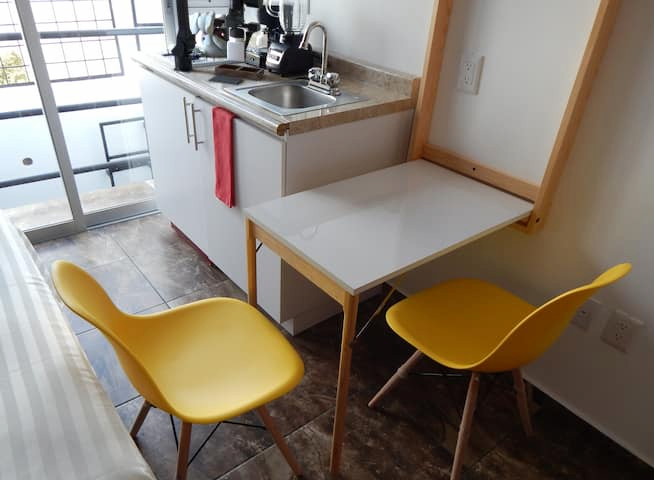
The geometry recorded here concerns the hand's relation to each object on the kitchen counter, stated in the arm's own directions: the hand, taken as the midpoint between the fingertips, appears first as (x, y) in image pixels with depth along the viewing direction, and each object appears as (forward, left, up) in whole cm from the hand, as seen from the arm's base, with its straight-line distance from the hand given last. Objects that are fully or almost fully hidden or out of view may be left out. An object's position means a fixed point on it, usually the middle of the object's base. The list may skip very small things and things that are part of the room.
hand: (236, 47), depth 202 cm
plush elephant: (-27, +40, -13) cm, 50 cm away
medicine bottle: (0, 0, -5) cm, 5 cm away
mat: (-3, -5, -12) cm, 14 cm away
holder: (-1, +6, -12) cm, 14 cm away
